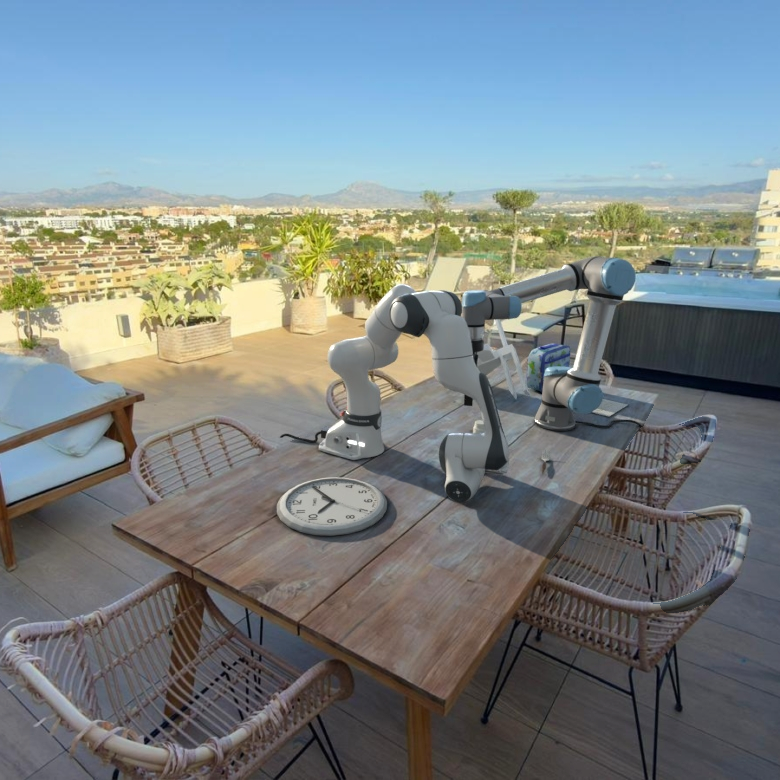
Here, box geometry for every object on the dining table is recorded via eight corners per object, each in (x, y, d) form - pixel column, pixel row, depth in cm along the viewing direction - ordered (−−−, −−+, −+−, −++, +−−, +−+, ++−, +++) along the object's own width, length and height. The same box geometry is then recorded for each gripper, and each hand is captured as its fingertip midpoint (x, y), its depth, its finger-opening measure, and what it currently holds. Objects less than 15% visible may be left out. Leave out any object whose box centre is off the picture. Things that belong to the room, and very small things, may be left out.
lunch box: (542, 395, 240) (547, 351, 233) (522, 390, 247) (526, 347, 241) (569, 384, 257) (575, 343, 251) (550, 380, 264) (554, 339, 258)
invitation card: (608, 416, 214) (573, 407, 224) (608, 416, 214) (573, 408, 224) (628, 404, 229) (594, 396, 238) (628, 405, 229) (594, 397, 238)
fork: (538, 474, 162) (538, 468, 162) (542, 454, 177) (542, 449, 176) (546, 475, 162) (547, 470, 161) (550, 455, 176) (550, 450, 175)
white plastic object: (461, 429, 252) (437, 405, 227) (444, 352, 274) (420, 323, 250) (535, 404, 240) (518, 377, 215) (510, 326, 262) (492, 293, 237)
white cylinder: (472, 472, 164) (475, 424, 159) (469, 465, 168) (472, 419, 163) (486, 471, 164) (489, 424, 159) (483, 465, 168) (486, 419, 164)
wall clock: (392, 527, 129) (268, 531, 127) (391, 533, 130) (269, 537, 127) (383, 473, 158) (282, 475, 155) (383, 478, 158) (282, 480, 156)
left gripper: (507, 464, 148) (513, 445, 161) (437, 452, 155) (449, 436, 167) (505, 484, 150) (512, 464, 163) (436, 471, 157) (448, 454, 169)
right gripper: (465, 330, 185) (463, 387, 192) (456, 346, 162) (454, 410, 169) (486, 331, 183) (484, 389, 190) (481, 347, 160) (478, 412, 167)
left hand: (479, 450), depth 165 cm, fingers open, 5 cm apart
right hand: (470, 399), depth 179 cm, fingers open, 13 cm apart
